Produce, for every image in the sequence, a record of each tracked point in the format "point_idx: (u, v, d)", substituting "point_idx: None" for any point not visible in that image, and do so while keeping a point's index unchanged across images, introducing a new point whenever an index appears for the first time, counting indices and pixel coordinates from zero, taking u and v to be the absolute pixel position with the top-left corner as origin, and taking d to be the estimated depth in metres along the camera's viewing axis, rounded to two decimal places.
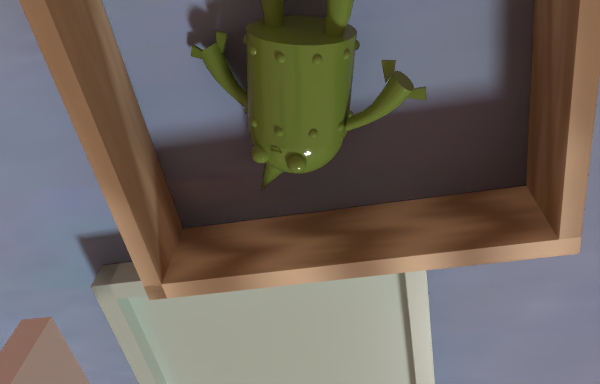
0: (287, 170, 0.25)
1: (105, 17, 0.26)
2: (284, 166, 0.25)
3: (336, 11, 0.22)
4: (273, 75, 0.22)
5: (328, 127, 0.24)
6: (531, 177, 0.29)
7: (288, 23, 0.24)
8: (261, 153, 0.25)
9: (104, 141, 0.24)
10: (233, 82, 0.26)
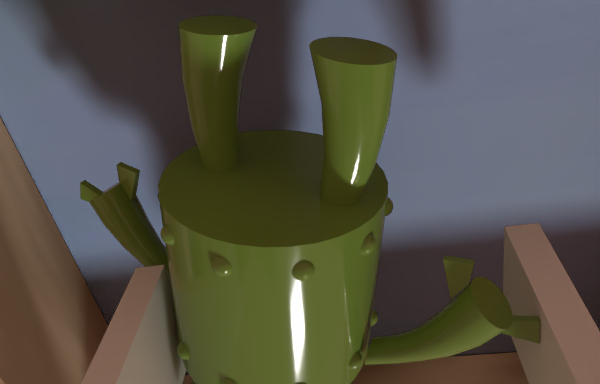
0: None
1: None
2: None
3: (346, 162, 0.10)
4: (210, 294, 0.10)
5: (331, 374, 0.12)
6: None
7: (250, 158, 0.12)
8: None
9: None
10: (155, 251, 0.14)
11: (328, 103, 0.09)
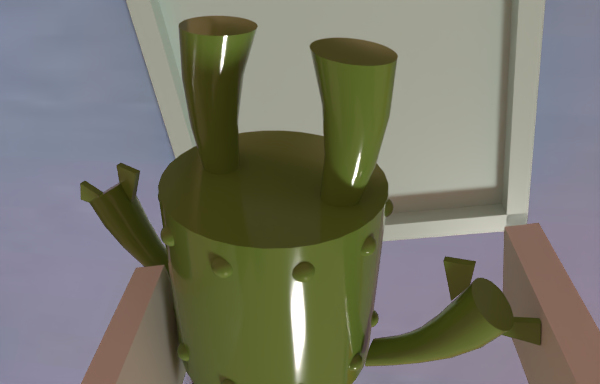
0: None
1: None
2: None
3: (347, 163, 0.10)
4: (210, 295, 0.10)
5: (331, 375, 0.12)
6: None
7: (251, 159, 0.12)
8: None
9: None
10: (155, 252, 0.14)
11: (329, 104, 0.09)
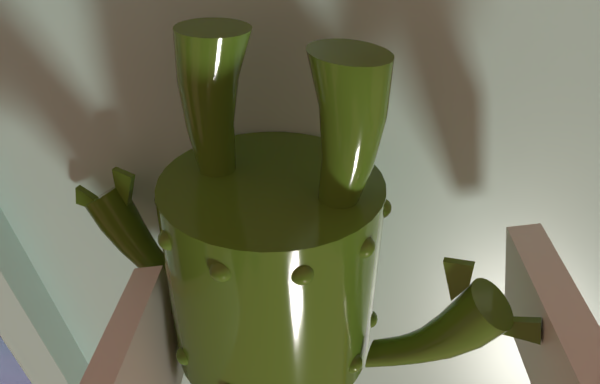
0: None
1: None
2: None
3: (344, 165, 0.10)
4: (208, 300, 0.10)
5: (331, 377, 0.12)
6: None
7: (247, 161, 0.12)
8: None
9: None
10: (152, 256, 0.14)
11: (325, 106, 0.09)
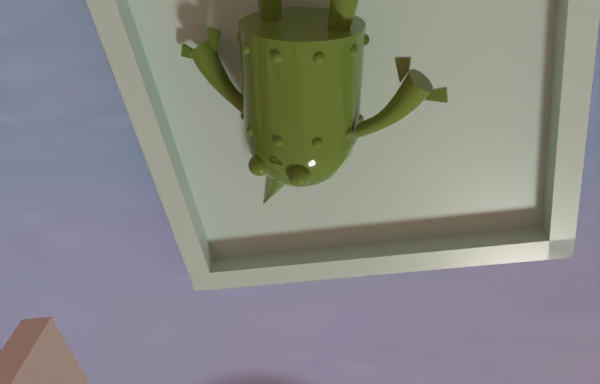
0: (289, 183, 0.22)
1: None
2: (285, 179, 0.22)
3: (341, 1, 0.19)
4: (269, 77, 0.19)
5: (334, 136, 0.21)
6: None
7: (287, 16, 0.21)
8: (259, 165, 0.22)
9: None
10: (228, 84, 0.23)
11: None
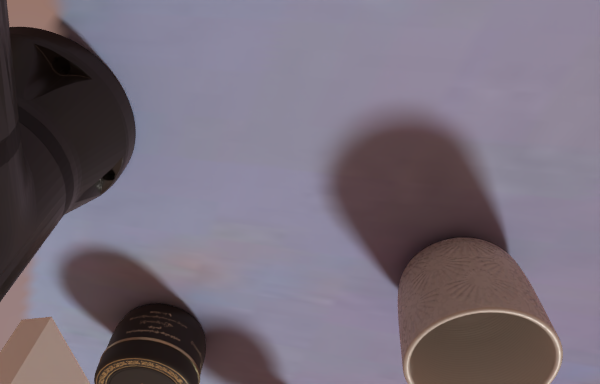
0: None
1: None
2: None
3: None
4: None
5: None
6: None
7: None
8: None
9: None
10: None
11: None
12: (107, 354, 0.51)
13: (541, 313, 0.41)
